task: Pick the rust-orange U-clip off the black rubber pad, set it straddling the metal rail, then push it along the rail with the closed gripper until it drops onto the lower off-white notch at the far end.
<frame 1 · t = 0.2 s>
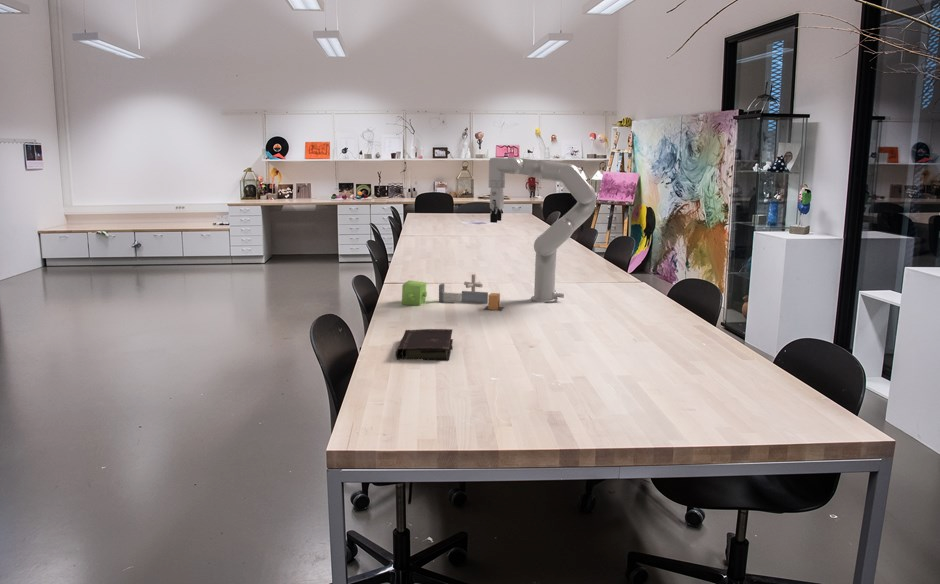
hand: (495, 221, 331), 36 cm above the table, tool pointing down, fingers open, 9 cm apart
clip: (494, 308, 312), resting on pad
pipe connector: (473, 295, 343), on the table
rail: (487, 304, 323), on the table
pad: (493, 309, 312), on the table
green square teapot: (415, 304, 322), on the table
diary: (426, 351, 247), on the table
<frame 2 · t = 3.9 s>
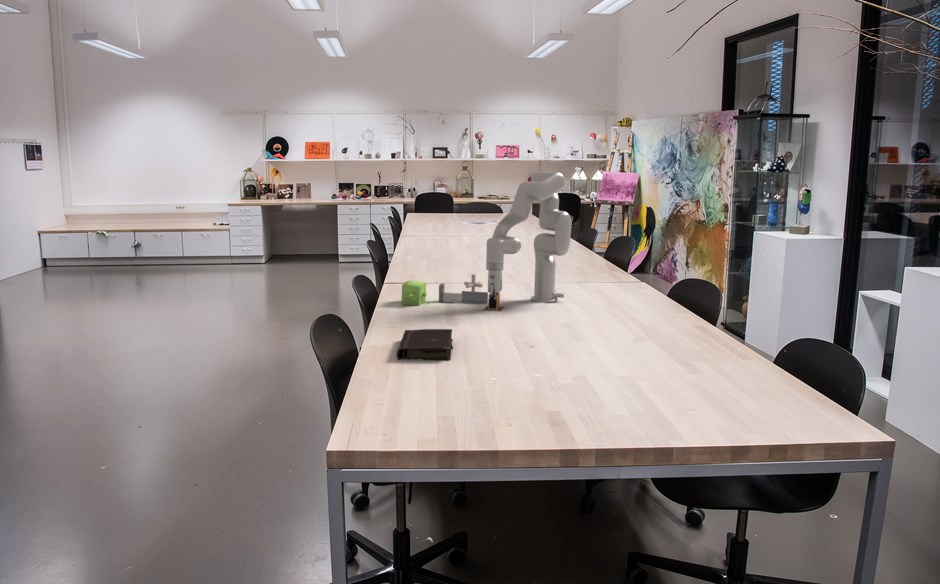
hand: (494, 306, 312), 1 cm above the table, tool pointing down, fingers closed on clip, 5 cm apart
clip: (494, 308, 312), resting on pad, touching gripper
everything else where it was.
when the fingers open (3 cm above the table, at t = 9.1 s): clip stays where it is, resting on rail.
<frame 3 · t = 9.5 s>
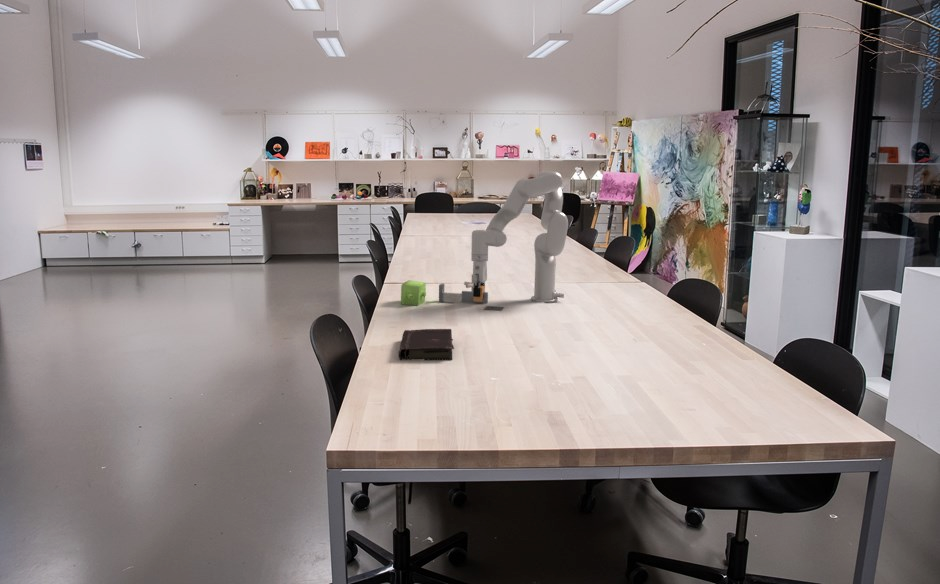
hand: (479, 294, 323), 4 cm above the table, tool pointing down, fingers open, 9 cm apart
clip: (479, 300, 323), point 1 cm above the table, touching rail
everything else where it was.
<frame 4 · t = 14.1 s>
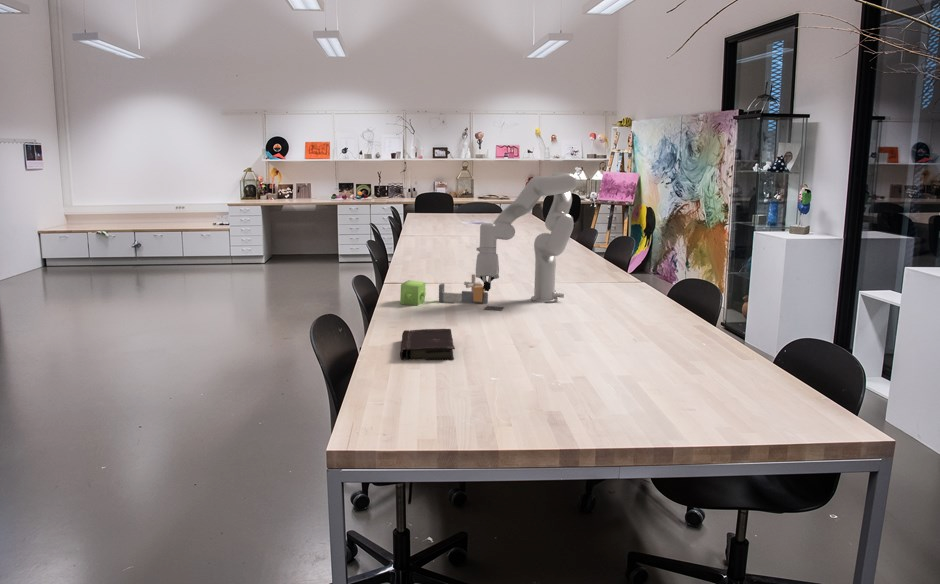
hand: (486, 290, 322), 6 cm above the table, tool pointing down, fingers closed
clip: (478, 300, 323), point 1 cm above the table, touching gripper, rail
everything else where it was.
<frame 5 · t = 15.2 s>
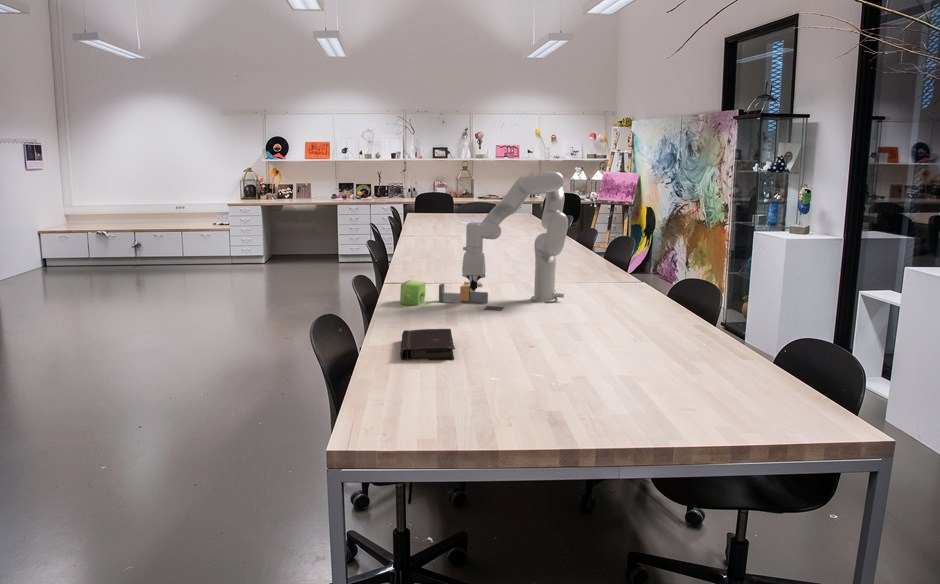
hand: (473, 289, 323), 6 cm above the table, tool pointing down, fingers closed
clip: (465, 299, 325), point 2 cm above the table, touching gripper, rail
everything else where it was.
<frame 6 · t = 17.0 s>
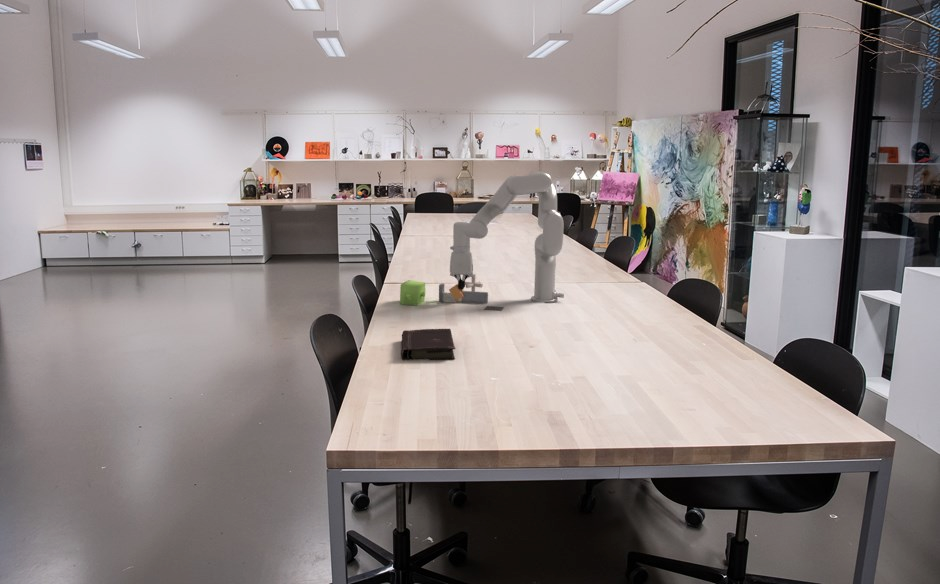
hand: (461, 288, 324), 6 cm above the table, tool pointing down, fingers closed
clip: (461, 297, 325), point 2 cm above the table, tilted 35°, touching gripper, rail
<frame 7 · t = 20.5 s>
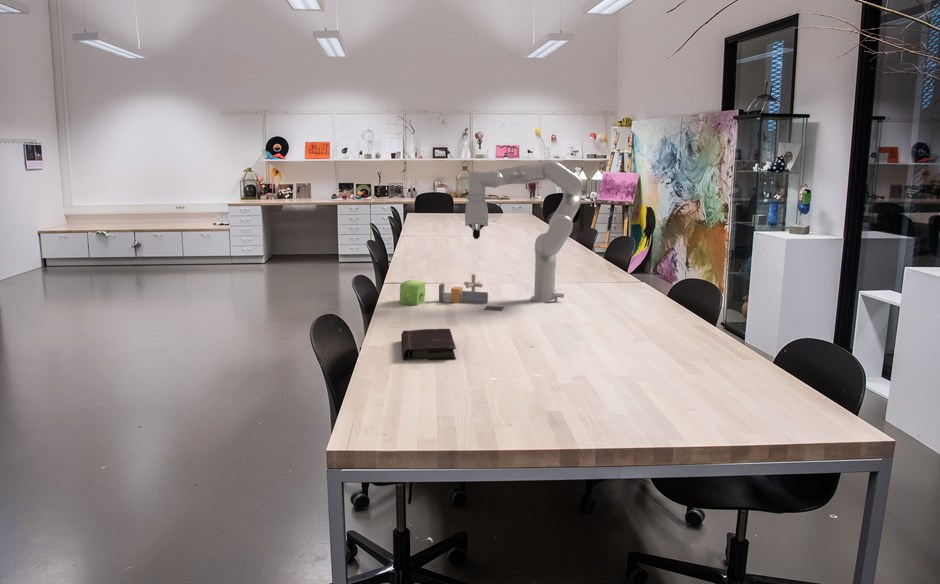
hand: (476, 238, 324), 29 cm above the table, tool pointing down, fingers closed
clip: (456, 301, 326), resting on rail
at the end: clip 2.8 cm from the target spot, resting on rail; clip tilted 0° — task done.
